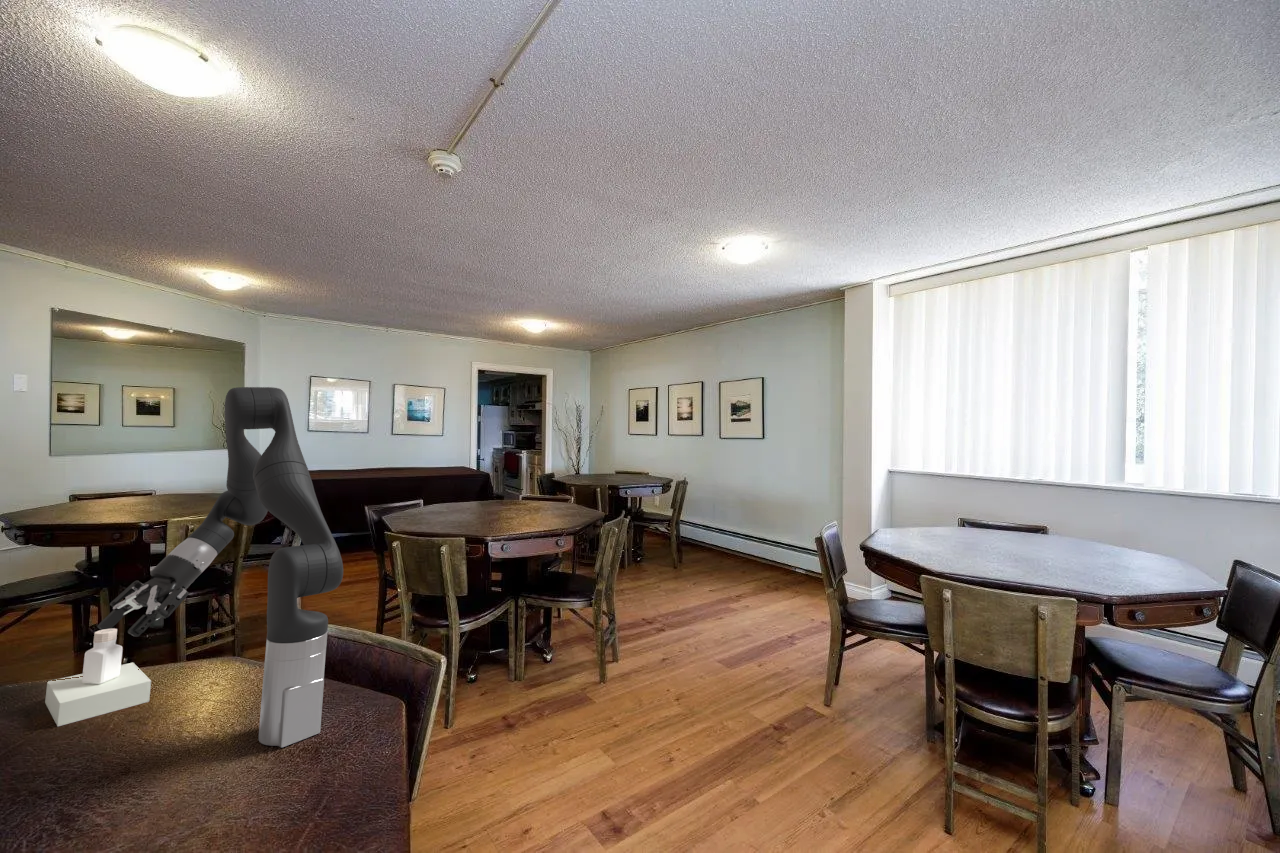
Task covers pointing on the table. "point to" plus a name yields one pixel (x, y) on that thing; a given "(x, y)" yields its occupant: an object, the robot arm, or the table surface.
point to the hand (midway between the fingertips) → (116, 632)
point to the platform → (96, 695)
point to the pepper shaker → (102, 658)
